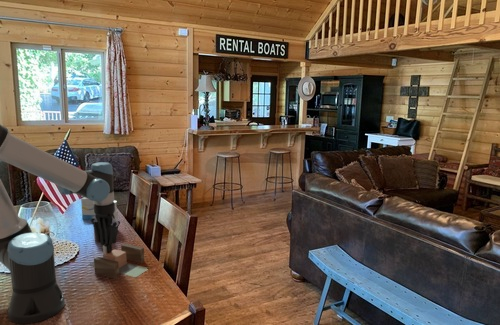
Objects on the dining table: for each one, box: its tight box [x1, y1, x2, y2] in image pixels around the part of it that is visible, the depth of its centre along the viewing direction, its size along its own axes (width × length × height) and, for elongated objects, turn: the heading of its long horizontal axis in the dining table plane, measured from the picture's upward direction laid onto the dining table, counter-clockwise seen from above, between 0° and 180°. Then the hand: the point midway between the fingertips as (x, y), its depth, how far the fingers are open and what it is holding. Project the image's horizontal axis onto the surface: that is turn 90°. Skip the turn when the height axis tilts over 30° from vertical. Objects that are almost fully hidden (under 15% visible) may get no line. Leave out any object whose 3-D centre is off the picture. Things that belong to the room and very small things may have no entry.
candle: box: [113, 199, 119, 221], centre depth 179 cm, size 7×7×15 cm
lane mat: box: [87, 256, 148, 278], centre depth 143 cm, size 8×24×1 cm, turn 66°
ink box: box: [80, 197, 96, 220], centre depth 201 cm, size 9×8×12 cm
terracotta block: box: [102, 248, 128, 268], centre depth 143 cm, size 6×6×5 cm
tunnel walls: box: [93, 243, 145, 280], centre depth 142 cm, size 16×10×6 cm, turn 156°
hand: (107, 259), depth 145 cm, fingers closed
